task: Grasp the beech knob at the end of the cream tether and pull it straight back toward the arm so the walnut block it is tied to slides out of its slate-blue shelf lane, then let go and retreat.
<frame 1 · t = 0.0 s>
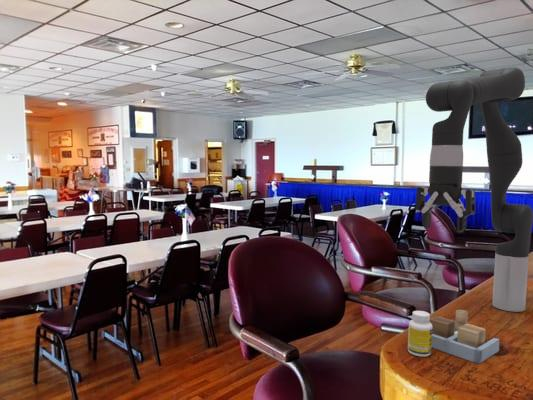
hand: (443, 230, 108), 29 cm above the table, fingers open, 8 cm apart
oak block: (470, 352, 106), resting in lane shelf
supplement bottle: (419, 353, 106), on the table
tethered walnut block: (441, 343, 112), on the table
lane shelf: (457, 346, 110), on the table
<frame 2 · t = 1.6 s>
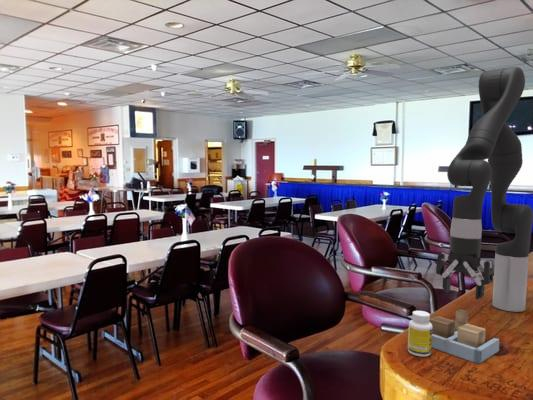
hand: (462, 294, 117), 11 cm above the table, fingers open, 8 cm apart
nothing on the table moved.
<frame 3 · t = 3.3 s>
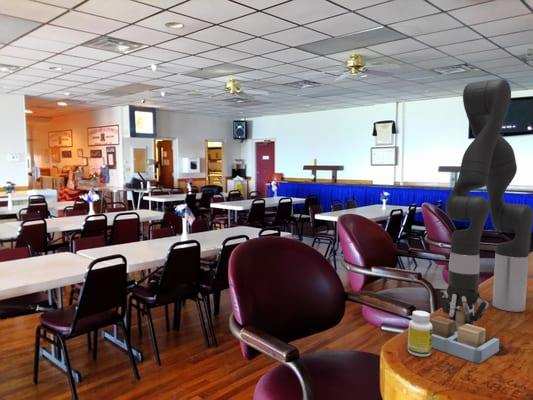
hand: (460, 331, 118), 0 cm above the table, fingers closed on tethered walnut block, 3 cm apart
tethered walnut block: (441, 343, 112), on the table, touching gripper
everything else where it was.
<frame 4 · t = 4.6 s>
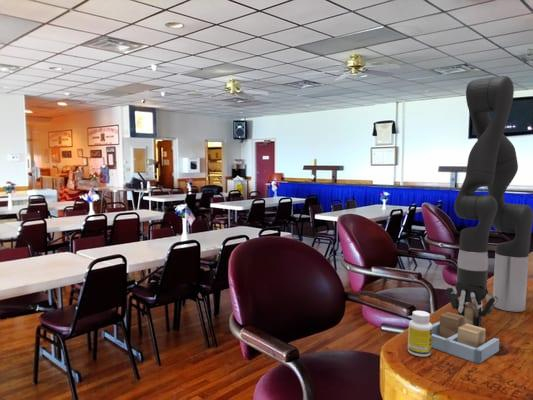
hand: (469, 326, 122), 0 cm above the table, fingers closed on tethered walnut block, 3 cm apart
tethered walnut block: (451, 337, 115), on the table, touching gripper
everything else where it was.
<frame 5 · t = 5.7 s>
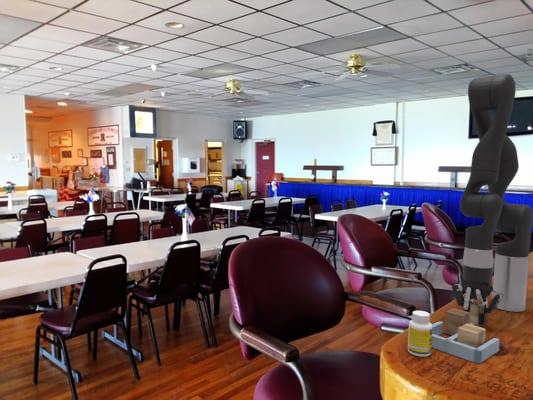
hand: (474, 323, 124), 1 cm above the table, fingers closed on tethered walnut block, 3 cm apart
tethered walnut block: (457, 333, 117), on the table, touching gripper
everything else where it was.
when the fingers open (1 cm above the table, at t = 6.4 s): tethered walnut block stays where it is, on the table.
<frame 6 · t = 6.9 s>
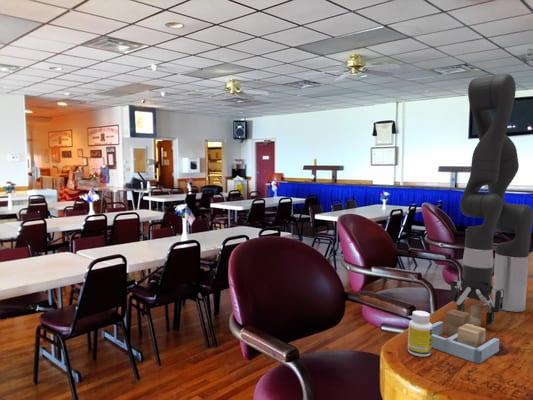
hand: (474, 320, 124), 1 cm above the table, fingers open, 7 cm apart
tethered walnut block: (457, 334, 117), on the table
everything else where it was.
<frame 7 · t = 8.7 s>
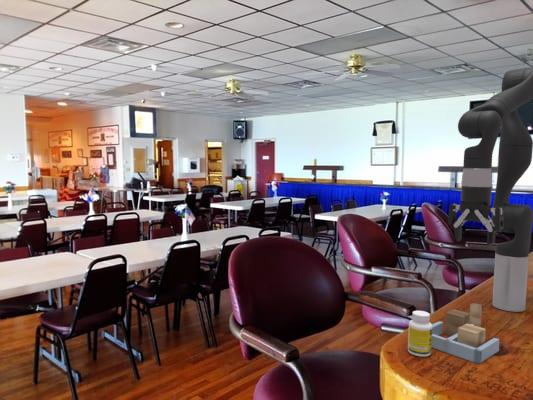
hand: (473, 242, 122), 24 cm above the table, fingers open, 8 cm apart
nothing on the table moved.
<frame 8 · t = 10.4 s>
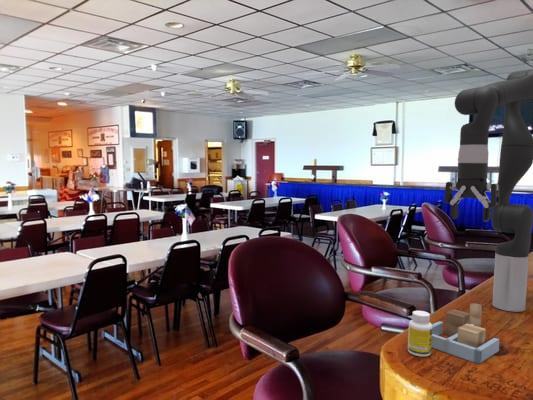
hand: (469, 219, 122), 30 cm above the table, fingers open, 8 cm apart
nothing on the table moved.
at the end: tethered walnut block inside the target area (0.9 cm from its centre), on the table; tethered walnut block moved 8.4 cm from its start; the gripper is holding nothing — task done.
